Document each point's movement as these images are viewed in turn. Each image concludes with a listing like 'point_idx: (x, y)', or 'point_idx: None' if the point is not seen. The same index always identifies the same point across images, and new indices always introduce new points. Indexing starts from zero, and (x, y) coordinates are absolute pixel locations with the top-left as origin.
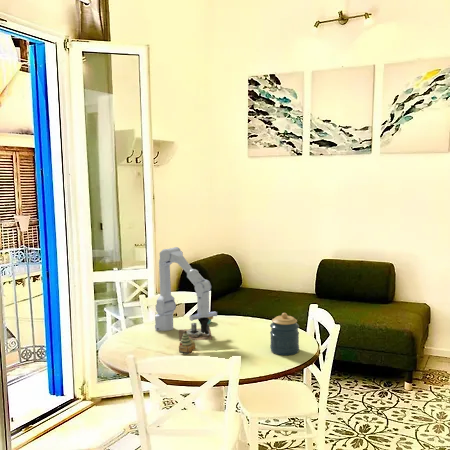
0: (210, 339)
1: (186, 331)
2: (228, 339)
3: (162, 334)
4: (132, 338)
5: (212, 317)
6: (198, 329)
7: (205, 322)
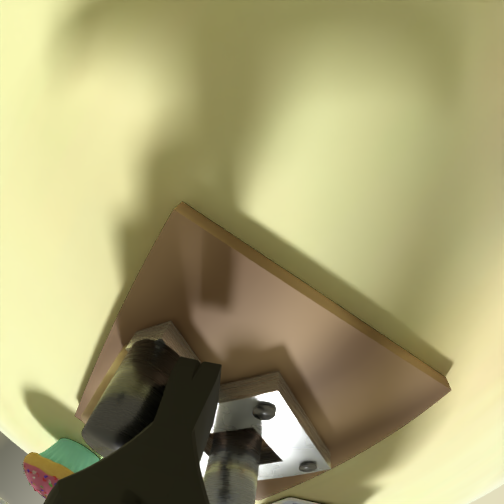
0: (196, 223)
1: (281, 475)
2: (30, 143)
3: (356, 497)
4: (461, 490)
5: (29, 457)
6: None
7: (150, 493)
